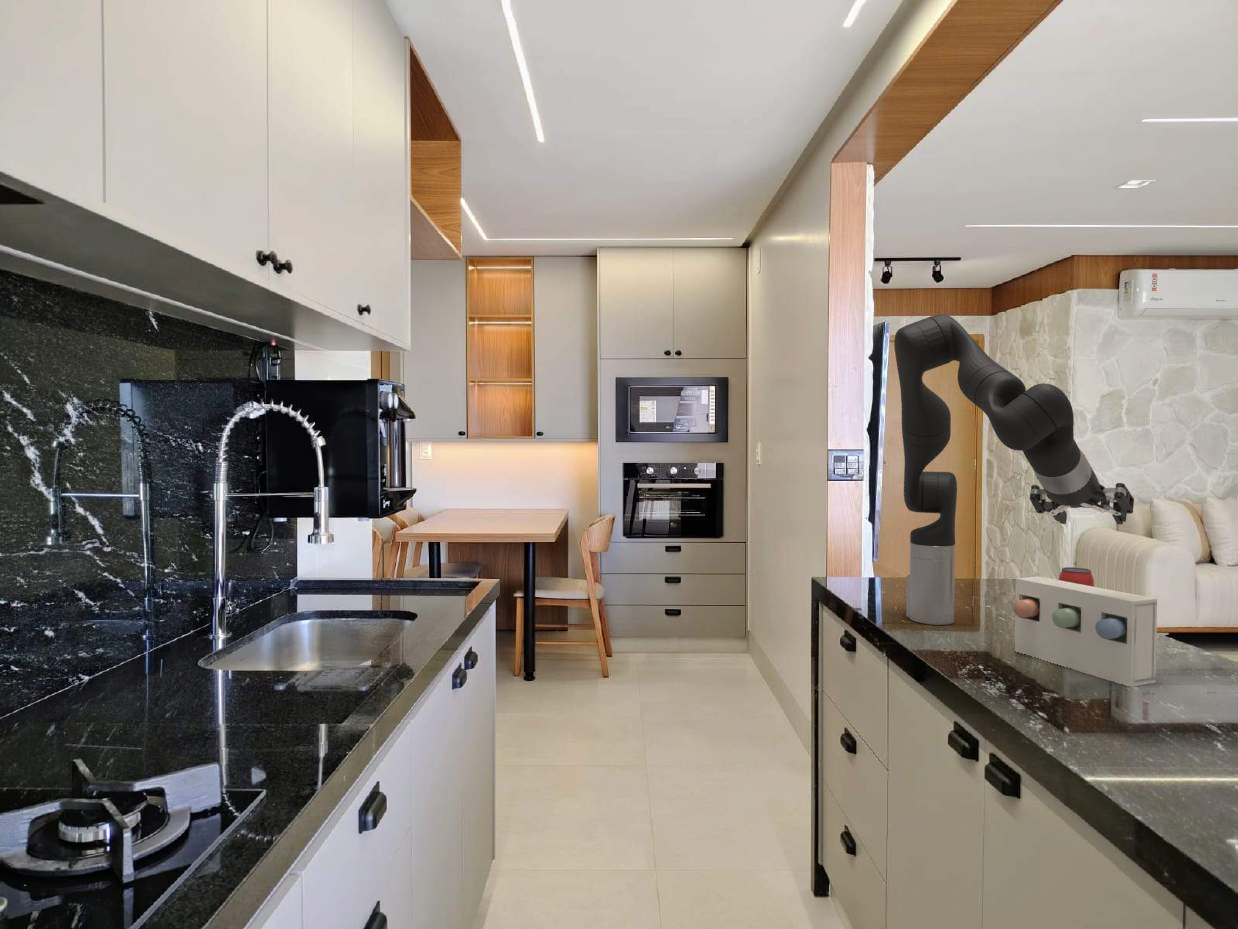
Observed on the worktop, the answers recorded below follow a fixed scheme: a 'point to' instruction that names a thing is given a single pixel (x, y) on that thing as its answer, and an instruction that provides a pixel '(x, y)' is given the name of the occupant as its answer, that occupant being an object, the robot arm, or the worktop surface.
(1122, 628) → the blue button
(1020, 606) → the terracotta button
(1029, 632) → the console
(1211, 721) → the worktop surface
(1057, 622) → the sage button
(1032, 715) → the worktop surface
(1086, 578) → the beer can
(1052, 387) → the robot arm
